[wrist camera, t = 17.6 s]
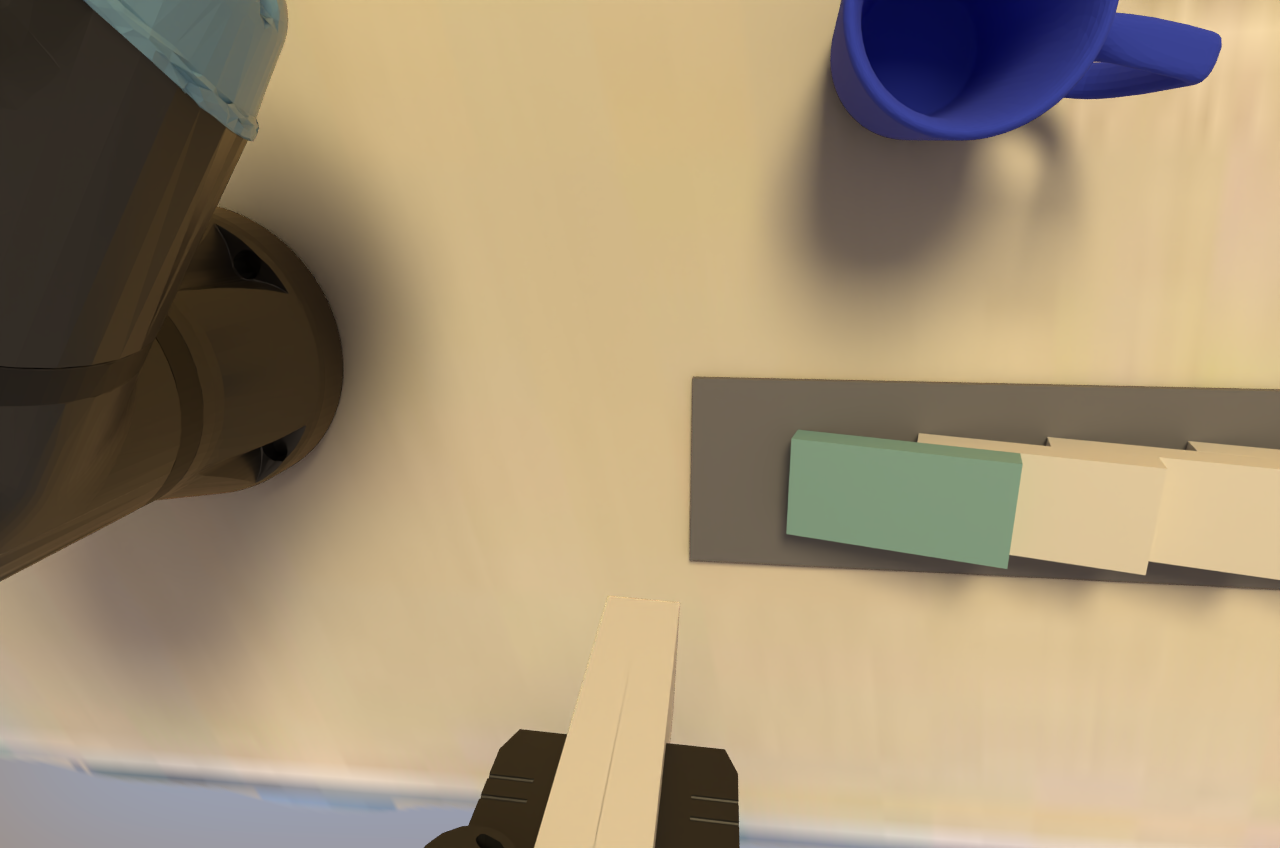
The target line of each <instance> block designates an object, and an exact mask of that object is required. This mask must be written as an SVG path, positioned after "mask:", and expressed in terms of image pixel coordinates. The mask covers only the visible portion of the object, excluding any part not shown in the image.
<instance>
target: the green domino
mask: <svg viewBox="0 0 1280 848" xmlns="http://www.w3.org/2000/svg"><path fill="white" fill-rule="evenodd" d="M1022 466H1023V463H1022V459H1021V454H1020V453H1013V452H1004V451H994V450H985V449H975V448H966V447H957V446H947V445H938V444H928V443H919V442H910V441H900V440H891V439H881V438H872V437H863V436H853V435H844V434H834V433H825V432H816V431H806V430H797V432H796V433H795V434H794V436H793V437H792V439H791V456H790V475H789V493H788V512H787V531H786V534H790V535H796V536H802V537H809V538H815V539H821V540H828V541H834V542H840V543H847V544H853V545H859V546H865V547H872V548H878V549H884V550H891V551H897V552H903V553H909V554H916V555H922V556H928V557H935V558H941V559H947V560H953V561H960V562H966V563H972V564H979V565H985V566H991V567H998V568H1004V569H1007V567H1008V561H1009V554H1010V547H1011V540H1012V533H1013V527H1014V520H1015V513H1016V506H1017V500H1018V493H1019V486H1020V479H1021V472H1022Z"/></svg>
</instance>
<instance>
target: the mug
mask: <svg viewBox="0 0 1280 848" xmlns="http://www.w3.org/2000/svg"><path fill="white" fill-rule="evenodd" d="M1118 1H1119V0H841V4H840V9H839V13H838V17H837V21H836V26H835V30H834V34H833V39H832V45H831V60H830V61H831V73H832V79H833V83H834V86H835V89H836V92H837V94H838V97H839V99H840V101H841V102H842V104H843V106H844V107H845V109H846V110H847V111H848V113H849V114H850V115H851V116H852V117H853V118H854V119H855V120H856V121H857V122H858V123H859V124H861V125H862V126H863V127H865V128H866V129H868V130H870V131H872V132H874V133H876V134H878V135H881V136H884V137H888V138H892V139H898V140H976V139H983V138H988V137H993V136H996V135H1000V134H1003V133H1006V132H1009V131H1011V130H1014V129H1016V128H1019V127H1021V126H1023V125H1025V124H1027V123H1029V122H1030V121H1032V120H1034V119H1036V118H1037V117H1039V116H1041V115H1042V114H1043V113H1045V112H1046V111H1048V110H1049V109H1050V108H1052V107H1053V106H1054V105H1056V104H1057V103H1058V102H1059V101H1060V100H1061V99H1062V98H1074V99H1103V98H1115V97H1123V96H1131V95H1140V94H1146V93H1152V92H1157V91H1163V90H1169V89H1174V88H1180V87H1185V86H1191V85H1195V84H1198V83H1200V82H1202V81H1203V80H1204V79H1205V78H1207V77H1208V75H1209V74H1210V73H1211V71H1212V69H1213V67H1214V65H1215V63H1216V61H1217V58H1218V56H1219V53H1220V50H1221V47H1222V46H1221V37H1220V36H1219V34H1217V33H1215V32H1213V31H1209V30H1205V29H1202V28H1198V27H1194V26H1191V25H1187V24H1182V23H1177V22H1173V21H1168V20H1164V19H1159V18H1154V17H1147V16H1141V15H1134V14H1125V13H1116V9H1117V5H1118ZM1093 62H1095V63H1093Z"/></svg>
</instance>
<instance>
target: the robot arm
mask: <svg viewBox="0 0 1280 848" xmlns="http://www.w3.org/2000/svg"><path fill="white" fill-rule="evenodd" d="M287 28H288V11H287V4H286V0H0V581H2V580H4V579H6V578H8V577H10V576H12V575H14V574H16V573H18V572H19V571H21V570H23V569H25V568H27V567H29V566H31V565H33V564H35V563H37V562H39V561H40V560H42V559H44V558H46V557H48V556H50V555H52V554H54V553H56V552H58V551H60V550H61V549H63V548H65V547H67V546H69V545H71V544H73V543H75V542H77V541H79V540H80V539H82V538H84V537H86V536H88V535H90V534H92V533H94V532H96V531H98V530H100V529H101V528H103V527H105V526H107V525H109V524H111V523H113V522H115V521H117V520H119V519H121V518H122V517H124V516H126V515H128V514H130V513H132V512H134V511H135V510H137V509H139V508H141V507H143V506H145V505H147V504H149V503H151V502H153V501H155V500H163V499H173V498H183V497H192V496H202V495H212V494H221V493H229V492H234V491H239V490H243V489H246V488H249V487H252V486H255V485H257V484H260V483H262V482H264V481H266V480H268V479H270V478H272V477H274V476H275V475H277V474H279V473H280V472H282V471H284V470H286V469H287V468H289V467H291V466H292V465H294V464H295V463H297V462H298V461H300V460H301V459H302V458H303V457H305V456H306V455H307V454H308V453H309V452H310V451H311V450H312V449H313V448H314V447H315V446H316V445H317V444H318V442H319V441H320V440H321V438H322V437H323V436H324V434H325V432H326V431H327V429H328V427H329V425H330V423H331V421H332V419H333V417H334V414H335V412H336V409H337V406H338V402H339V398H340V393H341V387H342V377H343V360H342V349H341V343H340V338H339V333H338V329H337V326H336V323H335V319H334V317H333V314H332V311H331V309H330V306H329V304H328V302H327V300H326V298H325V296H324V294H323V292H322V290H321V288H320V287H319V285H318V283H317V282H316V280H315V278H314V277H313V276H312V274H311V273H310V271H309V270H308V269H307V267H306V266H305V265H304V264H303V262H302V261H301V260H300V259H299V258H298V257H297V256H296V255H295V253H294V252H293V251H292V250H291V249H290V248H289V247H288V246H286V245H285V244H284V243H283V242H282V241H281V240H280V239H278V238H277V237H276V236H275V235H274V234H272V233H271V232H269V231H268V230H267V229H265V228H264V227H262V226H260V225H259V224H257V223H256V222H254V221H252V220H250V219H248V218H246V217H244V216H242V215H240V214H238V213H235V212H232V211H230V210H227V209H224V208H220V207H217V205H218V202H219V200H220V198H221V196H222V194H223V192H224V190H225V188H226V185H227V183H228V181H229V179H230V177H231V175H232V173H233V171H234V168H235V166H236V164H237V162H238V160H239V158H240V156H241V154H242V151H243V149H244V147H245V145H246V143H247V141H248V140H249V141H254V139H255V137H256V135H257V133H258V129H259V125H258V122H257V120H256V117H257V114H258V111H259V109H260V106H261V103H262V100H263V97H264V94H265V92H266V89H267V86H268V83H269V81H270V78H271V76H272V73H273V71H274V68H275V65H276V63H277V60H278V58H279V55H280V53H281V50H282V48H283V45H284V42H285V39H286V35H287ZM679 610H680V602H670V601H659V600H648V599H637V598H626V597H615V596H608V597H607V601H606V604H605V608H604V611H603V614H602V618H601V621H600V625H599V628H598V632H597V635H596V638H595V642H594V645H593V649H592V652H591V655H590V659H589V662H588V666H587V669H586V673H585V676H584V679H583V683H582V686H581V690H580V693H579V696H578V700H577V703H576V707H575V710H574V713H573V717H572V720H571V724H570V727H569V731H568V734H558V733H549V732H540V731H531V730H522V729H520V730H519V731H518V732H517V733H516V734H515V735H514V736H512V737H511V738H510V739H509V740H508V741H507V742H506V743H505V744H504V745H503V746H502V747H501V748H500V749H499V752H498V754H497V757H496V759H495V761H494V764H493V766H492V769H491V771H490V775H489V778H488V779H487V781H486V783H485V786H484V788H483V791H482V793H481V799H479V801H478V803H477V806H476V808H475V810H474V813H473V816H472V818H471V820H470V823H469V825H468V826H462V827H459V828H456V829H453V830H450V831H447V832H445V833H442V834H441V835H439V836H438V837H437V838H435V839H434V840H432V841H431V842H430V843H428V844H427V845H426V846H425V847H424V848H739V805H738V773H737V771H736V769H735V767H734V766H733V764H732V762H731V760H730V758H729V756H728V754H727V753H726V751H725V749H716V748H706V747H697V746H688V745H679V744H670V739H671V729H672V719H673V707H674V691H675V674H676V658H677V642H678V626H679Z"/></svg>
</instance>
